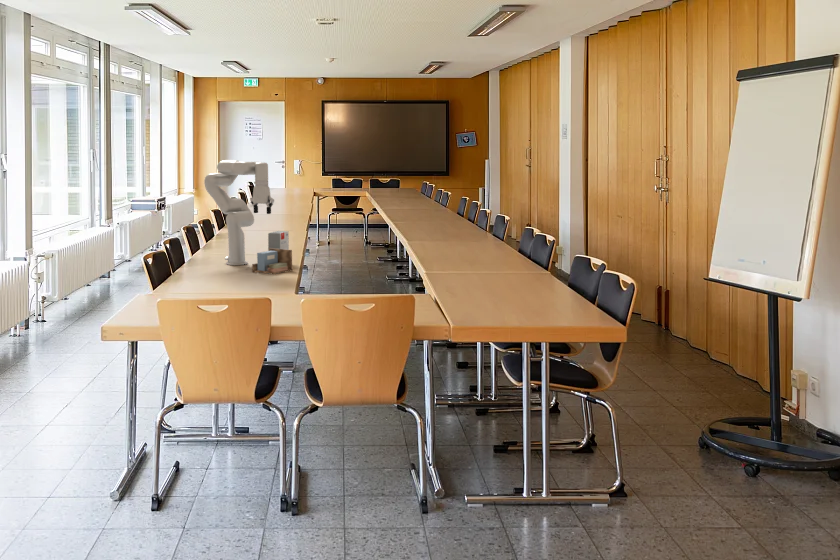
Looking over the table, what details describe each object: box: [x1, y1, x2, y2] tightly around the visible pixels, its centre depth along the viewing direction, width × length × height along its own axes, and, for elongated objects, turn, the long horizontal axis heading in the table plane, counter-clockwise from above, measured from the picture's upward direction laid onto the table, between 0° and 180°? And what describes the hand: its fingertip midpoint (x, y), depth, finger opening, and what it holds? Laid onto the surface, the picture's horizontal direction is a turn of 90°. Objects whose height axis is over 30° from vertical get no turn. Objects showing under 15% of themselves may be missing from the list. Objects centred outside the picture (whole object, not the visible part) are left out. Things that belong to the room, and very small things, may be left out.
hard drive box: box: [267, 230, 290, 251], centre depth 526 cm, size 16×8×20 cm, turn 168°
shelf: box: [251, 248, 293, 275], centre depth 502 cm, size 16×16×12 cm
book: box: [256, 250, 278, 271], centre depth 503 cm, size 5×12×10 cm, turn 151°
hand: (262, 213), depth 511 cm, fingers open, 9 cm apart
